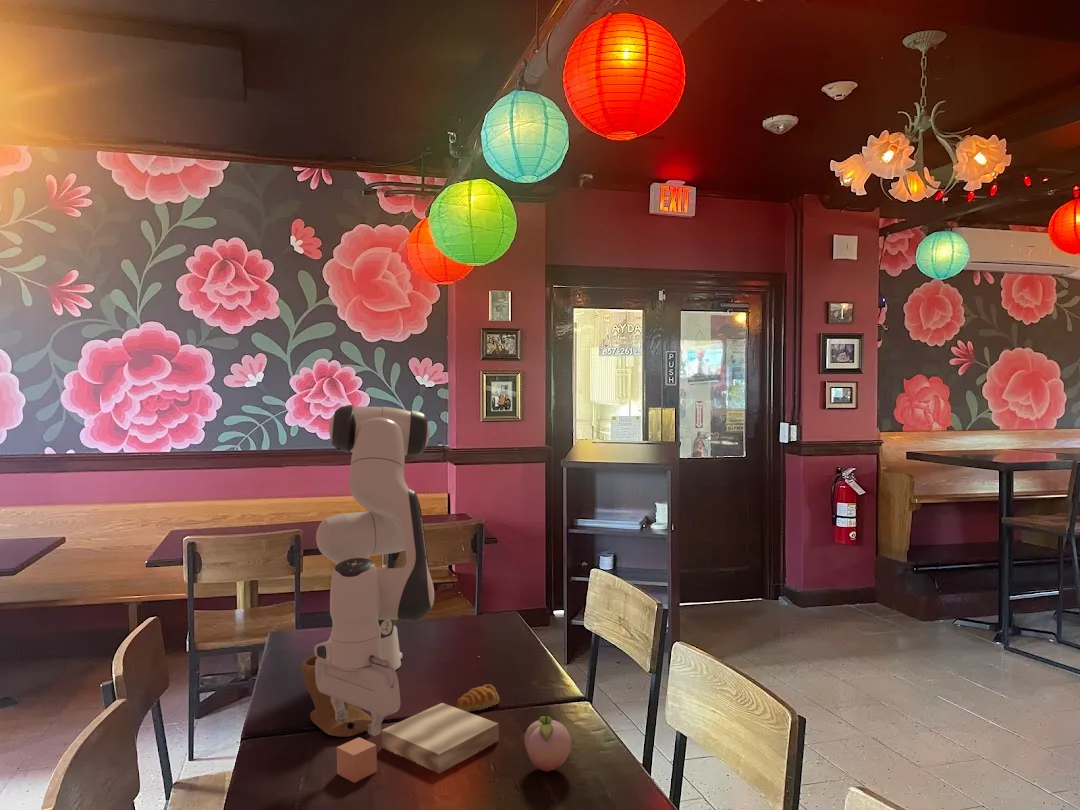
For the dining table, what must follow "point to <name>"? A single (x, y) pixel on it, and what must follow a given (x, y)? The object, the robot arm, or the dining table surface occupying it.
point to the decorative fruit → (547, 743)
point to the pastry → (478, 698)
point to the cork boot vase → (331, 708)
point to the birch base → (440, 737)
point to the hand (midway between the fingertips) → (357, 727)
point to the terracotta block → (356, 759)
